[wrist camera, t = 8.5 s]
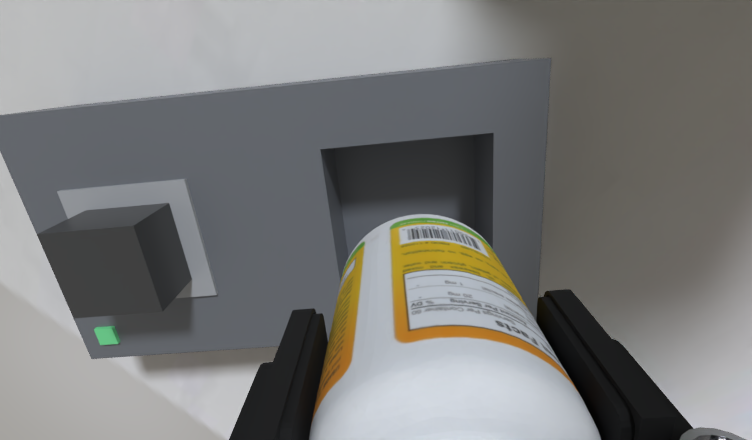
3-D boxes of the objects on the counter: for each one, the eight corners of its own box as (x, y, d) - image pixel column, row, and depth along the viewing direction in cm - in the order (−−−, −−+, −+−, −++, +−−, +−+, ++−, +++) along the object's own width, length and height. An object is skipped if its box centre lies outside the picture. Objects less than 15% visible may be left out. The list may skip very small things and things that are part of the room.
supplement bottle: (394, 371, 15) (407, 834, 6) (310, 261, 13) (155, 665, 4) (526, 306, 14) (794, 758, 5) (452, 178, 12) (639, 491, 3)
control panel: (513, 59, 21) (586, 56, 13) (508, 280, 25) (560, 370, 18) (69, 105, 22) (-92, 127, 15) (142, 307, 27) (48, 401, 19)
